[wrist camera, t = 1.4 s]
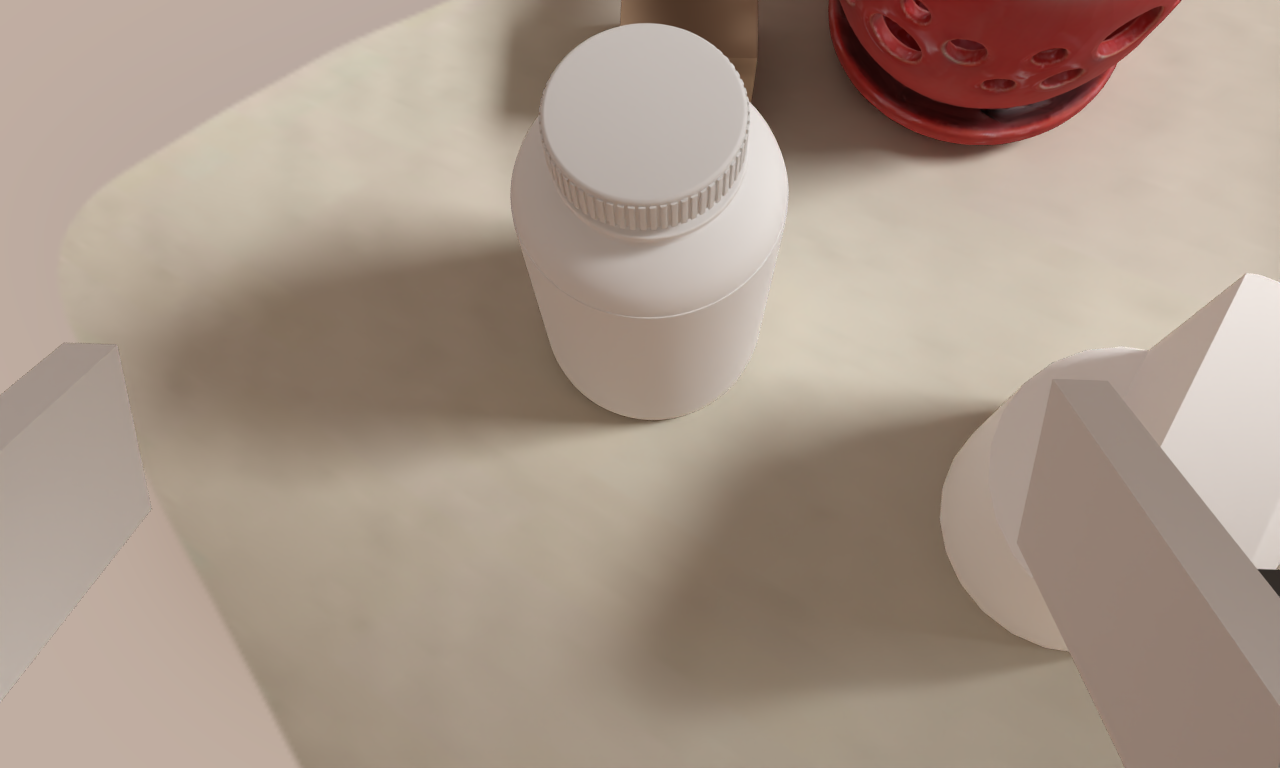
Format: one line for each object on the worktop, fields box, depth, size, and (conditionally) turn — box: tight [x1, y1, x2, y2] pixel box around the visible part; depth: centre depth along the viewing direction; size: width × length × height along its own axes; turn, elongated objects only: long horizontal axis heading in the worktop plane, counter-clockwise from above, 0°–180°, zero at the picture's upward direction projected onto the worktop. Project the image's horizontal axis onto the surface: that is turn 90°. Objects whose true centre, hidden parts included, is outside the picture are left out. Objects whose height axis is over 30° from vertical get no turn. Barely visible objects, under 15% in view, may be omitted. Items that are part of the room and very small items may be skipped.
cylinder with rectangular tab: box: [940, 273, 1280, 652], centre depth 33 cm, size 9×9×12 cm
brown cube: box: [620, 0, 758, 103], centre depth 42 cm, size 5×5×5 cm
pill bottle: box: [511, 23, 788, 420], centre depth 34 cm, size 8×8×15 cm
